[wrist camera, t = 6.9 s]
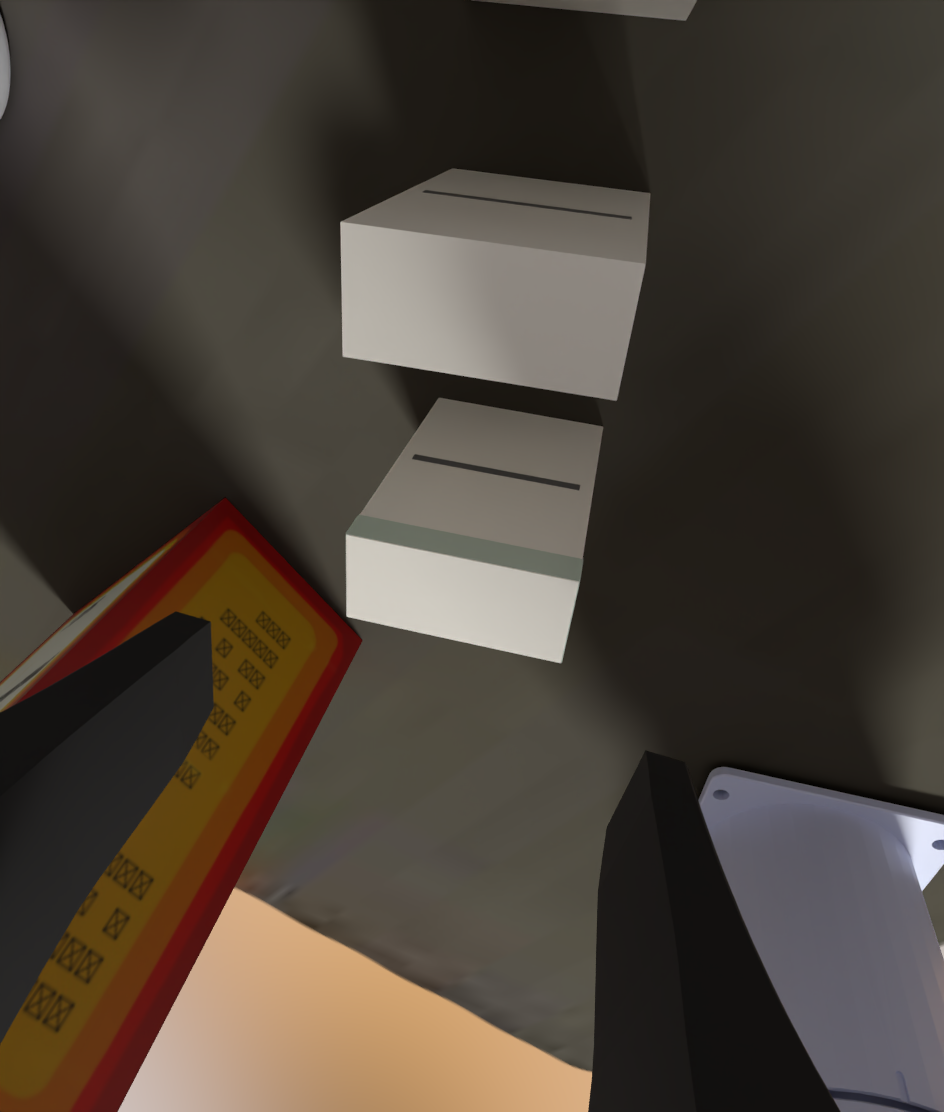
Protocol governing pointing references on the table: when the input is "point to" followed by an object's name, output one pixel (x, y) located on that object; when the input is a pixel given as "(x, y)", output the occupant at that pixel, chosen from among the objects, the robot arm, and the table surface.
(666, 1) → the domino
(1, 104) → the supplement bottle
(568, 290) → the domino
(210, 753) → the baking soda box
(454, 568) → the domino head
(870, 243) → the table surface
